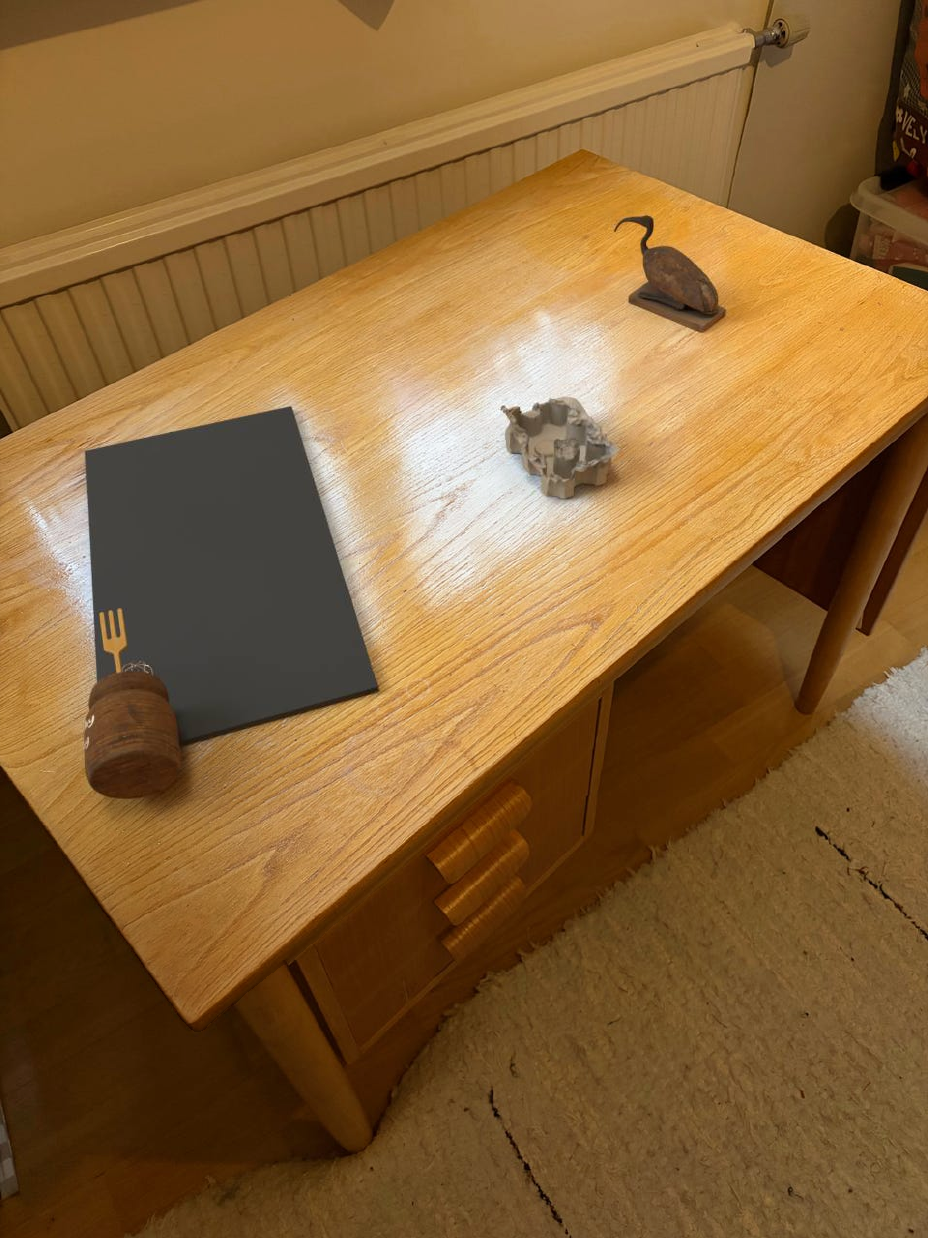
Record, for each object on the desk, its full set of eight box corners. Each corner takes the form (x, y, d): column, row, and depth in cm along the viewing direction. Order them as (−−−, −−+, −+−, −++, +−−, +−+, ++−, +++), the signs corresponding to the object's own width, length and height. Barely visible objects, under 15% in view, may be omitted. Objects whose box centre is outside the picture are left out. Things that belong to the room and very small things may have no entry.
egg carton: (496, 438, 83) (495, 402, 80) (566, 417, 85) (568, 381, 82) (546, 507, 77) (547, 471, 74) (621, 482, 79) (626, 446, 75)
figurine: (597, 289, 99) (603, 213, 93) (620, 273, 102) (628, 197, 95) (702, 333, 93) (717, 254, 86) (725, 315, 95) (742, 237, 88)
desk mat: (103, 767, 62) (100, 762, 61) (86, 455, 84) (84, 450, 83) (379, 691, 65) (378, 686, 64) (292, 410, 87) (291, 405, 87)
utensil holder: (192, 787, 60) (176, 653, 67) (166, 740, 55) (153, 600, 62) (103, 811, 59) (97, 671, 66) (69, 764, 54) (66, 619, 61)
